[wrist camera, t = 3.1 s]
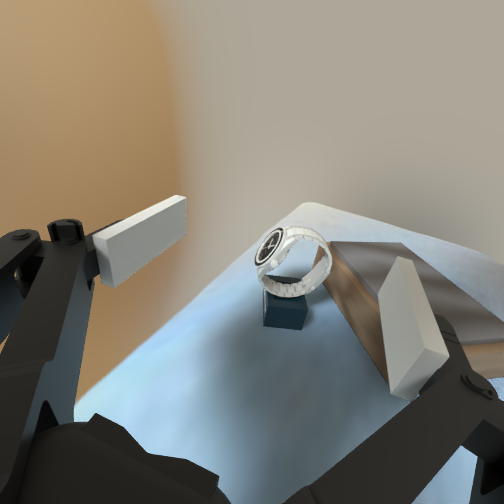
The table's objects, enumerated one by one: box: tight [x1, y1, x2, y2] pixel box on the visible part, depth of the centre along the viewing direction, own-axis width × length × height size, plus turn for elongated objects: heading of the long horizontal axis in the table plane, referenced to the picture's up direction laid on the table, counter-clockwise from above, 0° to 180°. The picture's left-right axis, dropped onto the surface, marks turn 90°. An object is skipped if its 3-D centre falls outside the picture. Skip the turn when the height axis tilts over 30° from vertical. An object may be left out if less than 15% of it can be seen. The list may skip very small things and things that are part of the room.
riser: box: [313, 241, 504, 386], centre depth 33 cm, size 20×14×5 cm
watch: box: [254, 225, 332, 330], centre depth 29 cm, size 6×8×11 cm
